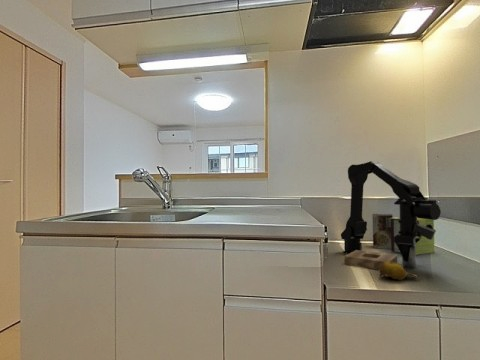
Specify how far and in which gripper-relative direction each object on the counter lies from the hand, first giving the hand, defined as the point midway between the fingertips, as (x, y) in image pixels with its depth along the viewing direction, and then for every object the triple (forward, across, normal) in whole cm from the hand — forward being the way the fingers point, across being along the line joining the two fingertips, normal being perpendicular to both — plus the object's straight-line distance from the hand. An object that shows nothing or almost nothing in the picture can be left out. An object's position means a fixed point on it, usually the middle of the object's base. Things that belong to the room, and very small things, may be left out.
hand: (408, 259), depth 115 cm
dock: (+3, -2, +13) cm, 14 cm away
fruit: (+4, -16, 0) cm, 17 cm away
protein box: (+3, +30, +4) cm, 30 cm away
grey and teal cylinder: (+3, 0, 0) cm, 3 cm away
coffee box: (+3, +32, +17) cm, 36 cm away
